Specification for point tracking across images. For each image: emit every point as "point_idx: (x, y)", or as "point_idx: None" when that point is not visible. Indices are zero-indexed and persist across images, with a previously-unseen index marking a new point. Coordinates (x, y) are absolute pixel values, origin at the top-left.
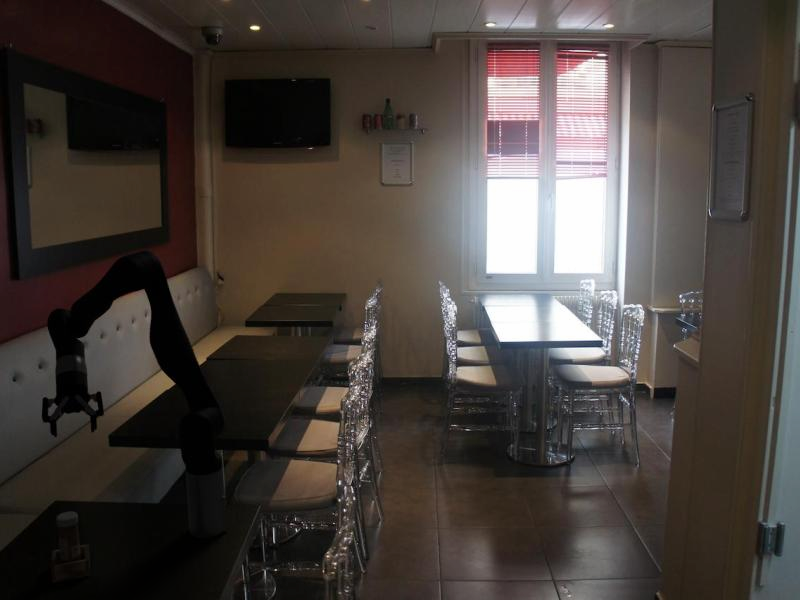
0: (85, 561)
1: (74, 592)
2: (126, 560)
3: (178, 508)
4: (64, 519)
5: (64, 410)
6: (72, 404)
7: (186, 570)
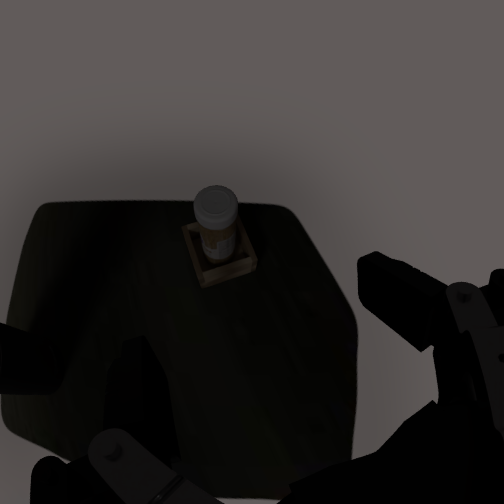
0: (186, 226)
1: None
2: (140, 281)
3: None
4: (214, 186)
5: (447, 405)
6: (415, 492)
7: (60, 249)
